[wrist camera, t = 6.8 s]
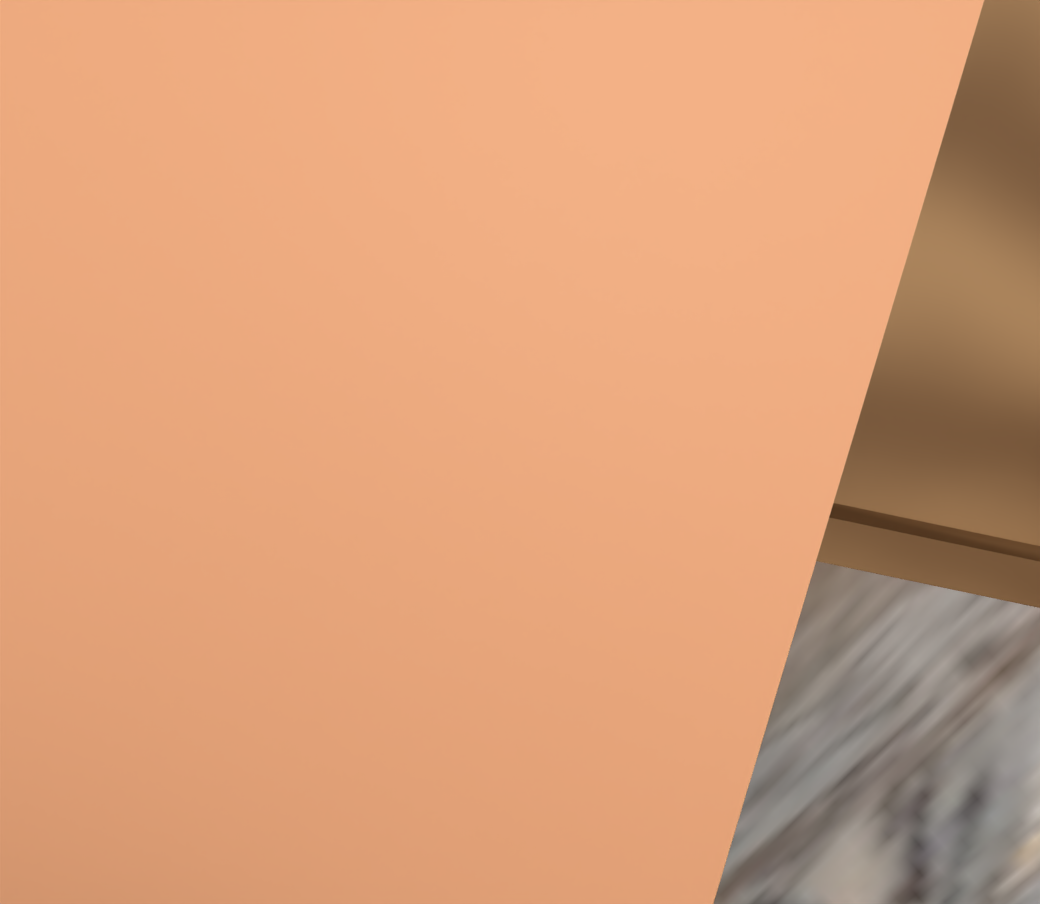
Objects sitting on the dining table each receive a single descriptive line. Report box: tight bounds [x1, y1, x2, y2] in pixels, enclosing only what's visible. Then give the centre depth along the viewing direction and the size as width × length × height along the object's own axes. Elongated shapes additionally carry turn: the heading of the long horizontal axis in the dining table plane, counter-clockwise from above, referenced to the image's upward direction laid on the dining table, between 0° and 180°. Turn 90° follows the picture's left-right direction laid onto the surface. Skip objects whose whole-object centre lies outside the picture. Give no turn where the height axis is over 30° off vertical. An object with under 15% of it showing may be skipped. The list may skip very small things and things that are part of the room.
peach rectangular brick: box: [0, 0, 984, 904], centre depth 9 cm, size 12×6×8 cm, turn 170°
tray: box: [816, 0, 1040, 608], centre depth 21 cm, size 20×11×2 cm, turn 169°
